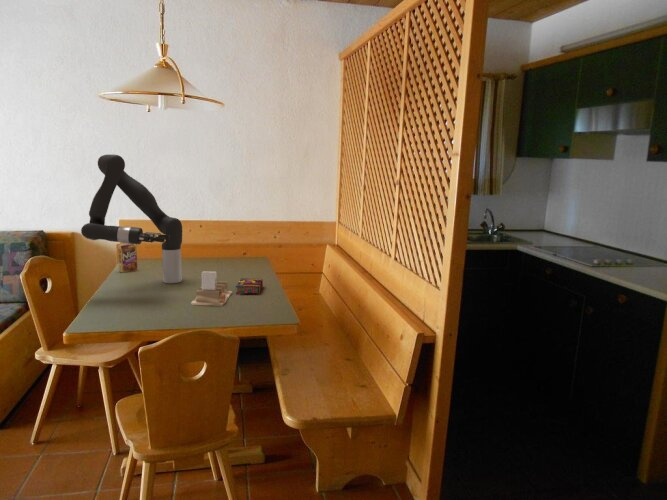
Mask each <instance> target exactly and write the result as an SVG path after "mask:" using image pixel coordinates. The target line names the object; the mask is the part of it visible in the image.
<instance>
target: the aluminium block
mask: <svg viewBox="0 0 667 500" xmlns="http://www.w3.org/2000/svg"><path fill="white" fill-rule="evenodd" d="M200 273H201V287H202V291H217V278H218V277H217V271H215V270H214V271H209V270H208V271H206V270H205V271H204V270H203V271H202V272H200Z"/></svg>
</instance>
